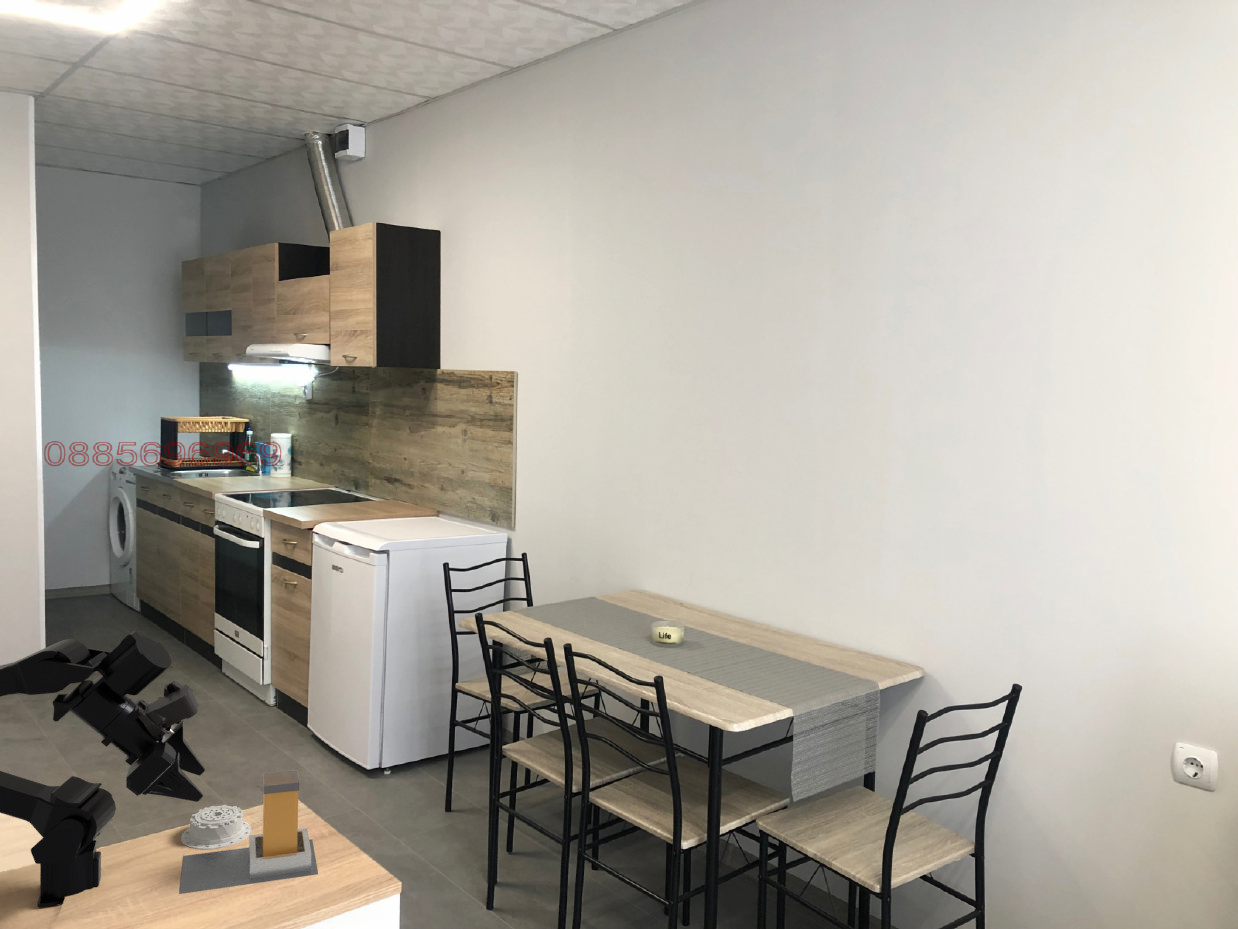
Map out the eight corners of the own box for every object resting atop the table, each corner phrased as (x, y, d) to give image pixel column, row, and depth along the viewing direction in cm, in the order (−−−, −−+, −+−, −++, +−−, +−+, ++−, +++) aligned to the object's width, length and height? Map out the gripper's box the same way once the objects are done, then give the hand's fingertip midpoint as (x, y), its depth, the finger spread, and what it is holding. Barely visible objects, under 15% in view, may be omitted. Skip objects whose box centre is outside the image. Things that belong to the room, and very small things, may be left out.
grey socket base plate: (179, 900, 128) (179, 876, 128) (183, 862, 138) (183, 839, 138) (318, 880, 135) (318, 857, 135) (312, 845, 145) (312, 823, 145)
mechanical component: (168, 841, 145) (200, 864, 138) (169, 813, 144) (200, 835, 138) (231, 821, 152) (263, 842, 146) (231, 794, 152) (264, 814, 146)
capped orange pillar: (261, 871, 135) (263, 786, 134) (261, 855, 139) (263, 773, 138) (297, 866, 137) (299, 782, 136) (295, 851, 141) (297, 769, 140)
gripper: (155, 692, 121) (246, 766, 126) (165, 653, 138) (245, 720, 143) (85, 758, 119) (181, 831, 124) (104, 710, 136) (187, 776, 141)
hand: (201, 785), depth 133 cm, fingers open, 9 cm apart
